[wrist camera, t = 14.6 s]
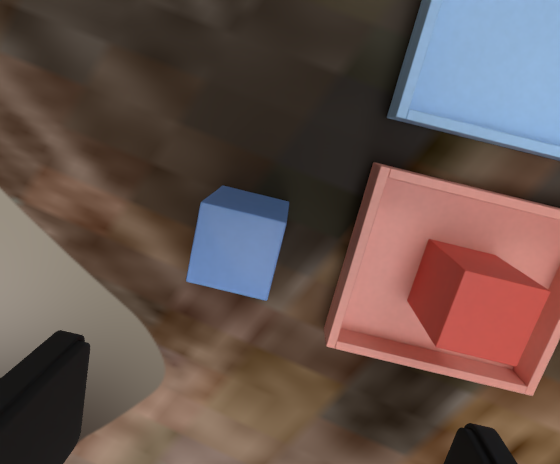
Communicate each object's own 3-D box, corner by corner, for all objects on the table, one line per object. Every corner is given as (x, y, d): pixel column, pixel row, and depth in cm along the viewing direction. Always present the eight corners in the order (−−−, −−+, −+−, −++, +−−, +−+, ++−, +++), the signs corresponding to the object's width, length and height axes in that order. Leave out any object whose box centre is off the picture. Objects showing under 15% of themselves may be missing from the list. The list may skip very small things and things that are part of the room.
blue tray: (386, 118, 25) (395, 116, 22) (454, -110, 22) (473, -139, 19) (605, 172, 25) (637, 177, 23) (703, -45, 22) (753, -66, 19)
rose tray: (323, 328, 29) (325, 346, 26) (373, 161, 26) (380, 165, 23) (513, 374, 29) (532, 396, 27) (585, 214, 26) (615, 223, 23)
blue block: (209, 249, 28) (185, 281, 22) (222, 185, 26) (200, 201, 21) (273, 264, 28) (267, 301, 22) (289, 201, 26) (286, 222, 21)
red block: (406, 300, 27) (435, 347, 22) (428, 238, 26) (465, 270, 20) (471, 316, 27) (516, 367, 22) (495, 254, 26) (551, 291, 20)
